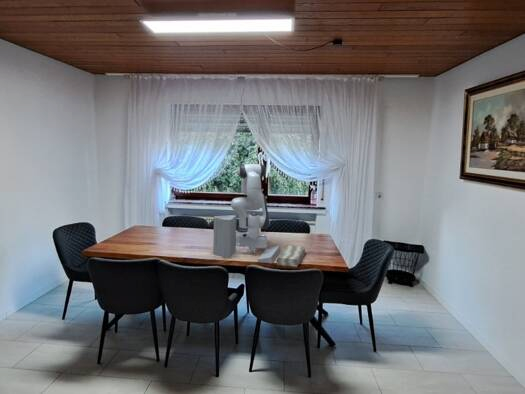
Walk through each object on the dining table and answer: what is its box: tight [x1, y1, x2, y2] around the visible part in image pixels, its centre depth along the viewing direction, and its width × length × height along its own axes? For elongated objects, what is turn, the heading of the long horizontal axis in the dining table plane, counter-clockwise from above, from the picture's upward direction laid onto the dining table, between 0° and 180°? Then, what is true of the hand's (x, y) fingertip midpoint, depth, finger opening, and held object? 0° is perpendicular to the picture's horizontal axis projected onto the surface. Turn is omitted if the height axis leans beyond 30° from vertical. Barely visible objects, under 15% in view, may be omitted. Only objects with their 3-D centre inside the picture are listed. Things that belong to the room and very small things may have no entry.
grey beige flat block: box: [276, 244, 306, 268], centre depth 266 cm, size 14×36×5 cm, turn 165°
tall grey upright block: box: [212, 214, 237, 259], centre depth 272 cm, size 19×15×28 cm
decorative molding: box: [257, 245, 282, 264], centre depth 271 cm, size 34×5×10 cm
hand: (253, 252), depth 274 cm, fingers closed
